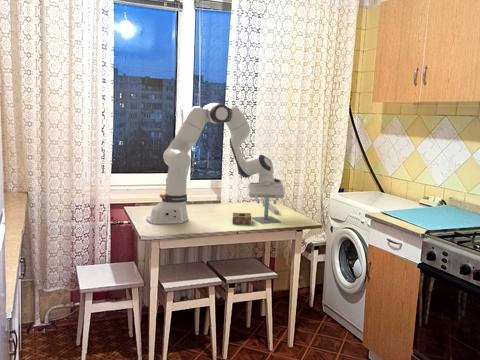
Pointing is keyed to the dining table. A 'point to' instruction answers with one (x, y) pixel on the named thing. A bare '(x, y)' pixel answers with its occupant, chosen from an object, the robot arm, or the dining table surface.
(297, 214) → the dining table surface
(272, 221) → the rubber mat
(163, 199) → the robot arm
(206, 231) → the dining table surface
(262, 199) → the wrench
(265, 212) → the scraper tool
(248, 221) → the slot holder
